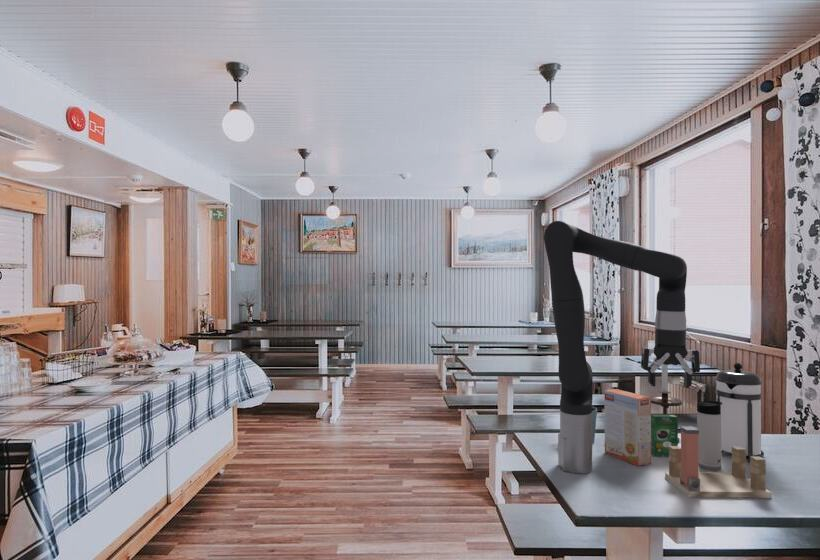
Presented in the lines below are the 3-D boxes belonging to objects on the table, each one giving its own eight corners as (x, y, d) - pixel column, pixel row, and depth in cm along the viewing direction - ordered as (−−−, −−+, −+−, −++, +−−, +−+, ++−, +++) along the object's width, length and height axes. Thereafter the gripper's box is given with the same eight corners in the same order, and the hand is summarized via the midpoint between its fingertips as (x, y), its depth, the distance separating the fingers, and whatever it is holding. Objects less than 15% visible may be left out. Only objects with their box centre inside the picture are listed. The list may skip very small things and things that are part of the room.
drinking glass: (568, 435, 181) (568, 402, 181) (597, 438, 177) (597, 405, 177) (566, 443, 171) (566, 409, 171) (597, 447, 167) (597, 412, 168)
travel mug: (726, 471, 145) (725, 404, 145) (702, 470, 146) (701, 403, 147) (717, 464, 151) (717, 399, 151) (694, 462, 153) (693, 398, 153)
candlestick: (651, 433, 182) (650, 339, 183) (684, 438, 176) (683, 341, 176) (645, 441, 174) (645, 342, 174) (680, 446, 167) (679, 344, 168)
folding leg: (686, 484, 129) (686, 429, 129) (680, 480, 132) (680, 426, 132) (699, 485, 129) (698, 430, 129) (692, 480, 132) (692, 426, 132)
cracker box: (652, 464, 151) (652, 396, 151) (637, 467, 149) (637, 398, 149) (617, 450, 164) (617, 387, 164) (604, 452, 162) (603, 389, 162)
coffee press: (781, 464, 150) (780, 367, 151) (724, 462, 153) (723, 366, 153) (751, 446, 168) (750, 358, 168) (700, 444, 170) (700, 358, 170)
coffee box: (673, 453, 161) (673, 413, 161) (678, 456, 158) (678, 416, 158) (649, 453, 161) (649, 413, 161) (654, 457, 158) (653, 416, 158)
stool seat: (690, 497, 127) (690, 461, 128) (665, 477, 141) (664, 444, 141) (772, 498, 127) (772, 462, 127) (739, 478, 140) (739, 445, 140)
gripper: (646, 328, 131) (645, 388, 131) (704, 329, 129) (703, 391, 129) (638, 325, 139) (638, 382, 139) (693, 327, 136) (692, 385, 136)
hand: (669, 386), depth 134 cm, fingers open, 8 cm apart
